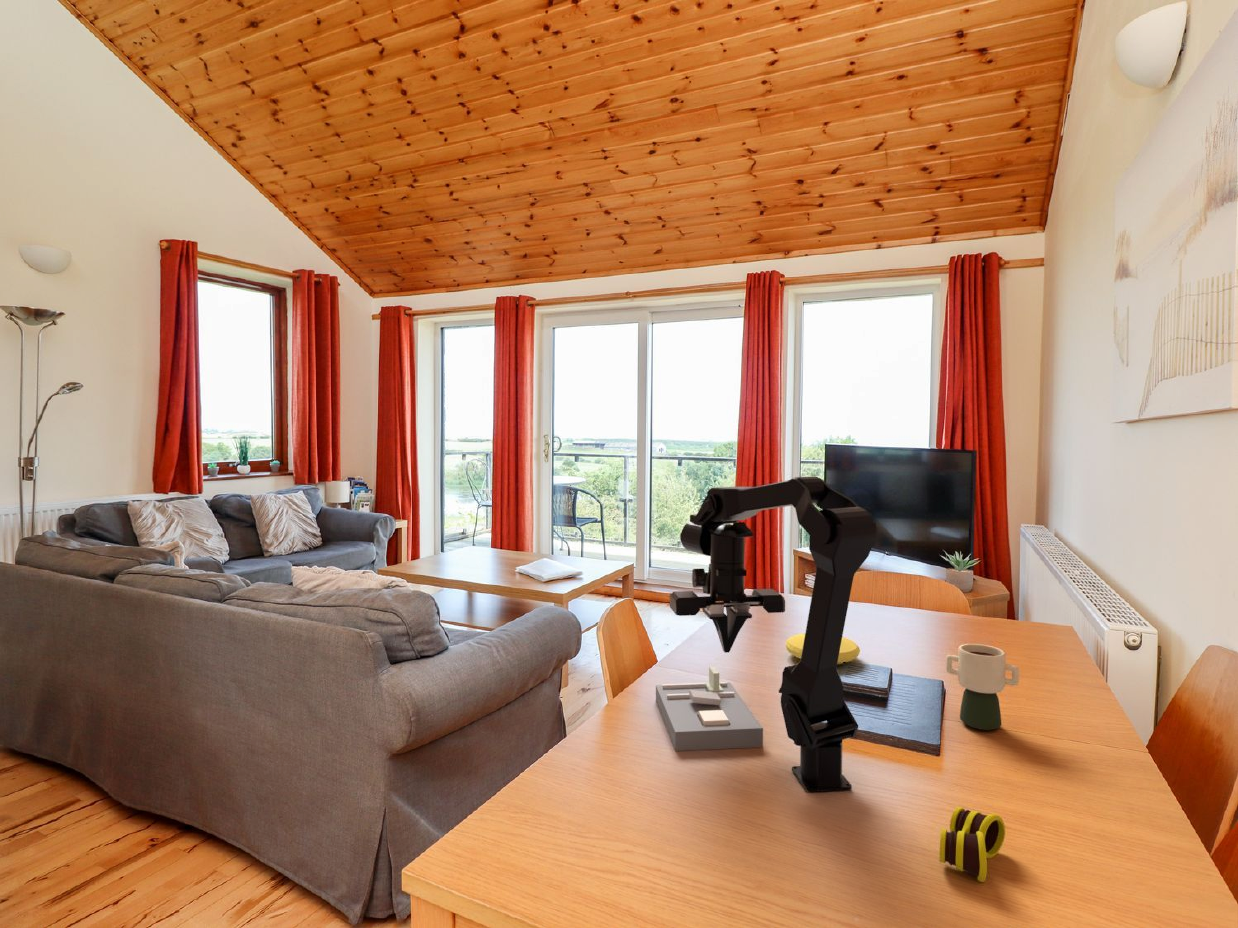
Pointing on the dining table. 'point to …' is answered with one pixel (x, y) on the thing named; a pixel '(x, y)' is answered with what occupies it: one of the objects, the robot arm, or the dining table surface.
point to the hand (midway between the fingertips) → (726, 651)
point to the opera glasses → (972, 841)
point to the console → (694, 736)
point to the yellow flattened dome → (846, 653)
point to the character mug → (981, 683)
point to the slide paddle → (713, 681)
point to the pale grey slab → (704, 697)
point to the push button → (713, 718)
